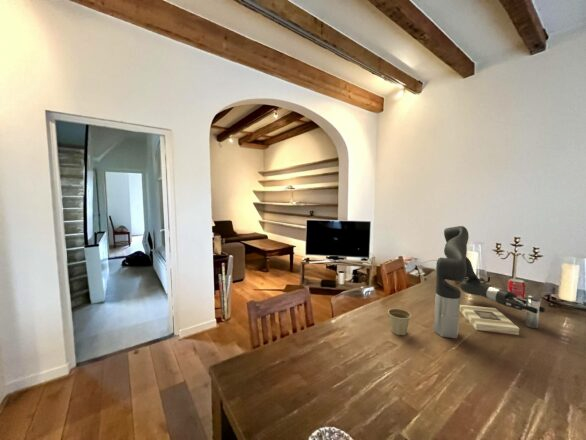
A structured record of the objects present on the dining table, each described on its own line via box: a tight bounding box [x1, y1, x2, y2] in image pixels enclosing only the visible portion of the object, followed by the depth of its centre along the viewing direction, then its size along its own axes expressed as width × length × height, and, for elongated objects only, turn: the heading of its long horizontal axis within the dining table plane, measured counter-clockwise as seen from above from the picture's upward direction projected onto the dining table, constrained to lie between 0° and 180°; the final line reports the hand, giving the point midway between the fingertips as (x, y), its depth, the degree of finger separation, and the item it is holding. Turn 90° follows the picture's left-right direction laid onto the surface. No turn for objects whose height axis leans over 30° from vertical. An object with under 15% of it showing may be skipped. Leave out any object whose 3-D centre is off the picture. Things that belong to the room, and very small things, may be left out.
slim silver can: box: [525, 294, 542, 329], centre depth 114 cm, size 5×5×14 cm
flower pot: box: [387, 308, 412, 336], centre depth 110 cm, size 9×9×9 cm
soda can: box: [507, 278, 526, 299], centre depth 140 cm, size 7×7×13 cm
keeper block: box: [459, 304, 520, 336], centre depth 119 cm, size 20×16×3 cm
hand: (540, 310), depth 111 cm, fingers closed on slim silver can, 4 cm apart
